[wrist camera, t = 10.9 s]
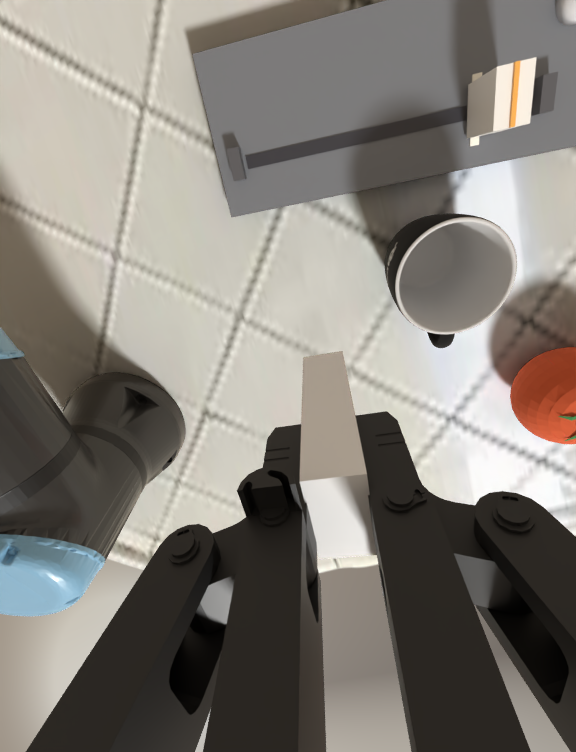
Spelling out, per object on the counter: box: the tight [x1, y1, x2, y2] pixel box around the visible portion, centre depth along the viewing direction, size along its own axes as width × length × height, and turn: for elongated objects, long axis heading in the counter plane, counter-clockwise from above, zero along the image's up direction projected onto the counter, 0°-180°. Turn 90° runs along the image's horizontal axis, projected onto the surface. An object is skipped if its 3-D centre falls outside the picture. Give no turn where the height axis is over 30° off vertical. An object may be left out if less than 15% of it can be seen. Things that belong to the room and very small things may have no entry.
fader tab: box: [467, 57, 537, 139], centre depth 26 cm, size 2×4×5 cm, turn 11°
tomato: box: [510, 347, 576, 444], centre depth 37 cm, size 10×10×10 cm
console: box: [192, 0, 576, 217], centre depth 29 cm, size 31×12×4 cm, turn 101°
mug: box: [385, 214, 517, 348], centre depth 33 cm, size 12×9×10 cm
